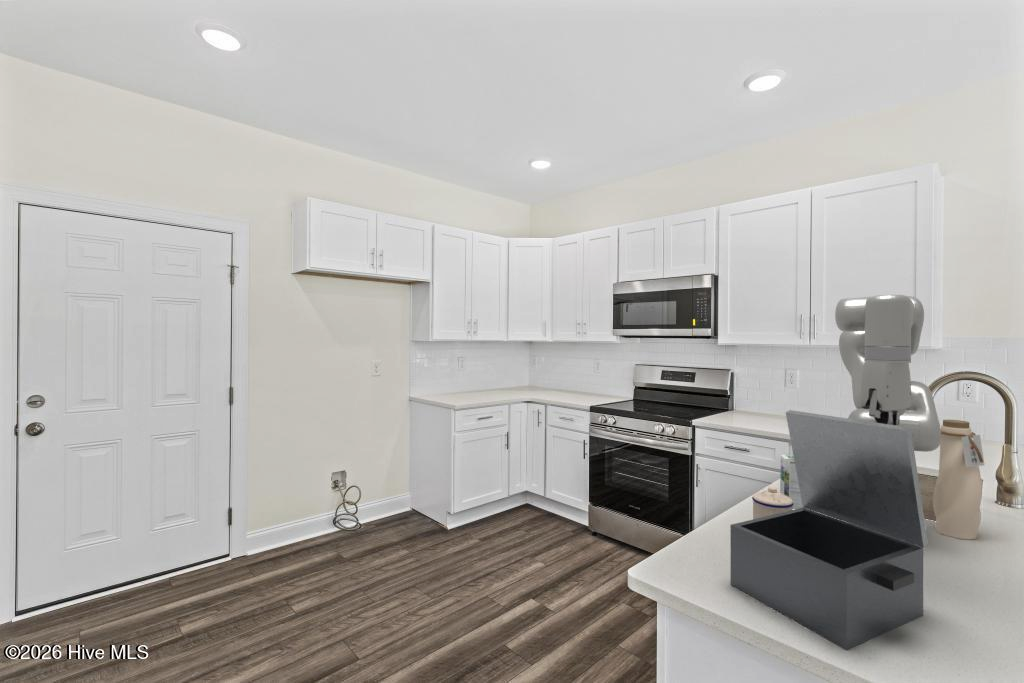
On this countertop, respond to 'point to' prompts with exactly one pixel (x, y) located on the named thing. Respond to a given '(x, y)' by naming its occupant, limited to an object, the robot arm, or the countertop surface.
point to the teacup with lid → (770, 503)
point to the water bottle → (958, 481)
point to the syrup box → (790, 481)
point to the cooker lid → (859, 473)
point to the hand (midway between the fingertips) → (887, 444)
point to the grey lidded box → (828, 574)
